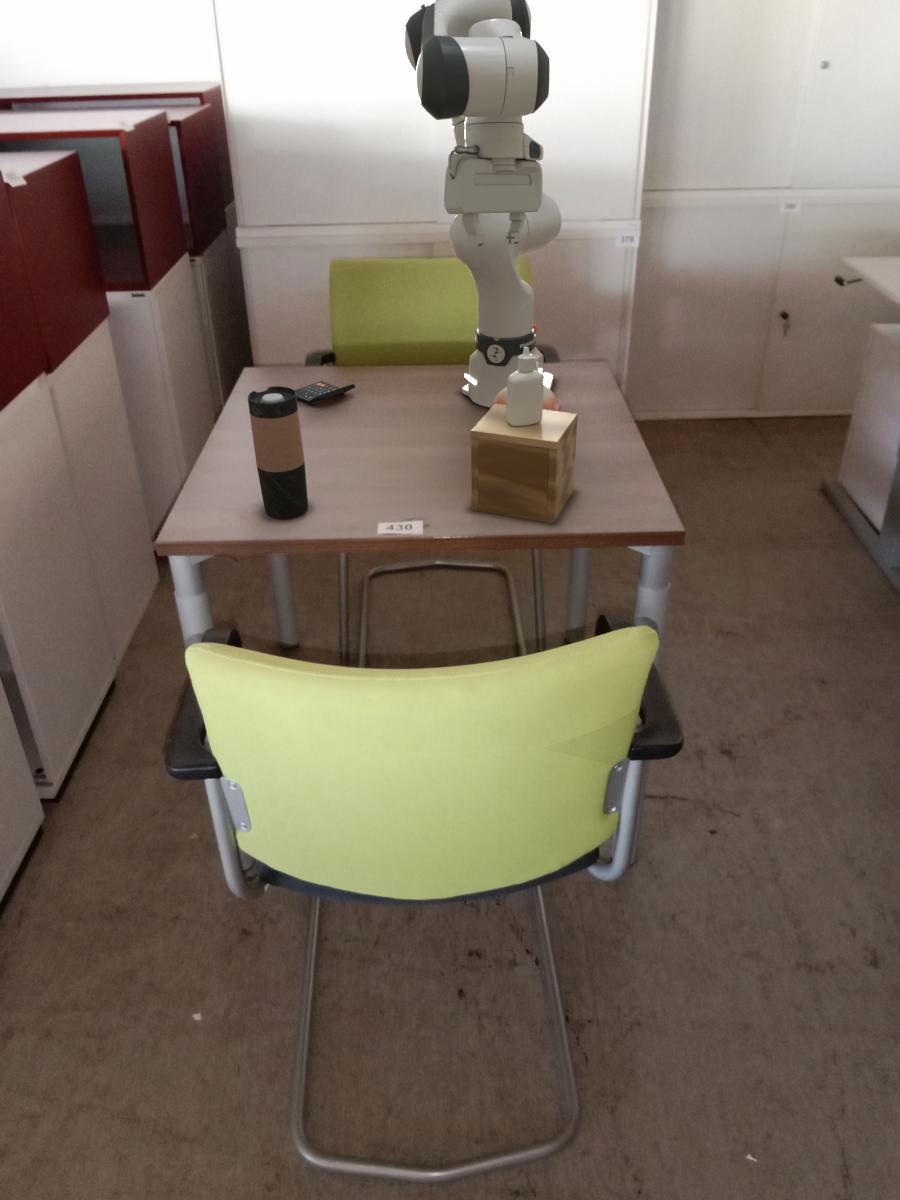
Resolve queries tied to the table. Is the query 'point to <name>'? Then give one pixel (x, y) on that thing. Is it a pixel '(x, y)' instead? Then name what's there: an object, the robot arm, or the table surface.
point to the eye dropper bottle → (525, 393)
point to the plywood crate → (523, 465)
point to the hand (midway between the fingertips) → (494, 245)
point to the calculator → (319, 392)
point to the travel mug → (279, 452)
